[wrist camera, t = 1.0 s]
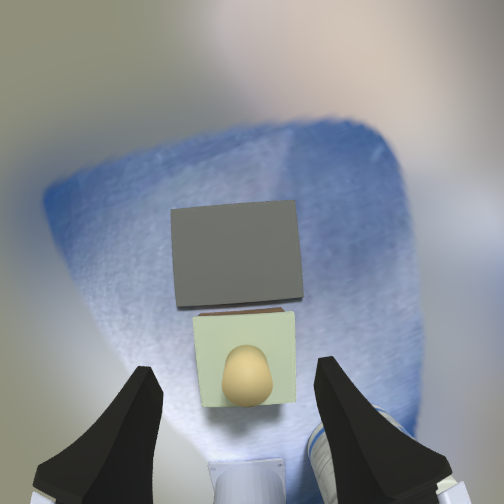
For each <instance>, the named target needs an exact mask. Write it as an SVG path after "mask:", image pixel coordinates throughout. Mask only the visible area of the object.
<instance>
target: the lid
mask: <svg viewBox="0 0 504 504" xmlns="http://www.w3.org/2000/svg"><path fill="white" fill-rule="evenodd" d="M193 330H194V341H195V351H196V361H197V370H198V379H199V387H200V395H201V402H202V407H238V406H242V407H253V406H257V405H270V404H281V403H290V402H296V349H295V316H294V312H293V311H288V312H275V313H260V314H242V315H220V316H194V317H193Z"/></svg>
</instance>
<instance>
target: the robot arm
mask: <svg viewBox="0 0 504 504" xmlns="http://www.w3.org/2000/svg"><path fill="white" fill-rule="evenodd" d="M314 391H315V397H316V402H317V407H318V410H319V414H320V417H321V420H322V424H323V427H324V430H325V433H326V437H327V440H328V443H329V447H330V451H331V456H332V462H333V468H334V475H335V483H336V491H337V501H338V504H471V501H470V498H469V495H468V492H467V489H466V487H465V484H464V481H460V482H459V483H457V484H455V485H454V486H452V487H450V488H449V489H447V490H445V491H443V492H441V493H439V494H436V491H437V490H438V486H437V483H439V482H440V481H442V480H444V479H445V478H447V477H448V476H450V475H451V474H452V469H451V467H450V464H449V462H448V461H447V459H446V457H445V456H443V455H441V454H439V453H436V452H434V451H432V450H431V449H429V448H427V447H425V446H423V445H422V444H420V443H418V442H417V441H415V440H414V439H412V438H411V437H409V436H408V435H406V434H405V433H403V432H402V431H401V430H399V429H398V428H397V427H395V426H394V425H393V424H392V423H390V422H389V421H388V420H387V419H386V418H385V417H384V416H383V415H382V414H380V413H379V412H378V411H377V410H376V409H375V408H374V407H373V406H372V405H371V403H370V402H369V401H368V400H367V399H366V398H365V397H364V396H363V395H362V394H361V392H360V391H359V390H358V389H357V388H356V386H355V385H354V384H353V383H352V382H351V380H350V379H349V378H348V376H347V375H346V374H345V372H344V371H343V370H342V368H341V367H340V365H339V364H338V363H337V361H336V360H335V358H334V357H333V356H329V357H323V358H318V363H317V369H316V375H315V380H314ZM162 407H163V391H162V389H161V387H160V385H159V383H158V381H157V379H156V377H155V375H154V373H153V371H152V369H151V367H147V366H138V367H137V368H136V369H135V371H134V372H133V374H132V375H131V376H130V378H129V380H128V381H127V382H126V384H125V385H124V386H123V388H122V389H121V391H120V392H119V393H118V395H117V396H116V397H115V399H114V400H113V401H112V403H111V404H110V405H109V406H108V408H107V409H106V410H105V411H104V413H103V414H102V415H101V416H100V417H99V418H98V420H97V421H96V422H95V423H94V424H93V425H92V426H91V427H90V428H89V429H88V430H87V431H86V432H85V433H84V434H83V435H82V436H81V437H80V438H78V439H77V440H76V441H75V442H74V443H73V444H71V445H70V446H69V447H67V448H66V449H64V450H63V451H62V452H60V453H59V454H57V455H56V456H54V457H52V458H51V459H49V460H47V461H45V462H43V463H42V464H40V465H38V468H37V471H36V474H35V478H34V481H33V487H35V488H36V489H38V490H40V491H42V492H44V493H45V494H47V495H49V496H51V497H53V498H55V499H56V502H53V501H51V500H49V499H47V498H45V497H43V496H41V495H39V494H38V493H36V492H33V494H32V498H31V503H30V504H153V494H152V473H153V457H154V449H155V445H156V440H157V434H158V430H159V425H160V420H161V415H162ZM279 464H281V465H279ZM212 468H215V469H212ZM208 469H209V473H210V477H211V481H212V485H213V489H214V492H215V496H214V503H213V504H286V491H285V462H284V459H283V458H273V459H262V460H249V461H225V462H209V463H208Z"/></svg>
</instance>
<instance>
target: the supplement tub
mask: <svg viewBox="0 0 504 504" xmlns="http://www.w3.org/2000/svg"><path fill="white" fill-rule="evenodd" d="M371 405H372V404H371ZM372 406H373V407H374V408H375V409H376V410H377V411H378V412H379V413H380V414H382V415H383V416H384V417H385V418H386V419H387V420H388V421H389V422H390V423H392V424H393V425H394V426H395V427H397V428H398V429H399V430H401V431H402V432H403V433H405V434H406V435H408V436H409V437H411V438H412V439H414V438H413V437H412V436H411V435H410V434H409V433H408V432H407V431H406V430H405V429H404V428H403V427H402V426H401V425H400V424H399V423H398V422H397V421H395V420H394V419H393V418H392V417H391V416H390V415H389V414H388V413H387V412H386V411H385V410H384V409H382V408H381V407H378V406H376V405H372ZM414 440H415V439H414ZM415 441H416V440H415ZM418 443H419V442H418ZM308 457H309V460H310V462H311V465H312V468H313V471H314V474H315V477H316V480H317V483H318V486H319V489H320V492H321V495H322V498H323V501H324V504H338V501H337V491H336V483H335V475H334V468H333V462H332V456H331V451H330V447H329V443H328V440H327V437H326V433H325V430H324V427H323V424H322V422H321V423H320V424H319V425H318V426H317V428H316V429H315V430H314V432H313V433H312V435H311V437H310V440H309V443H308ZM455 484H457V482H456V481H455V480H454V478H453V477H452V476H451V475H450V476H448V477H447V478H445V479H444V480H442V481H440V482H439V483H437V486H438V490H437V491H436V494H439V493H441V492H443V491H445V490H447V489H449V488H450V487H452V486H454V485H455Z"/></svg>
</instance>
